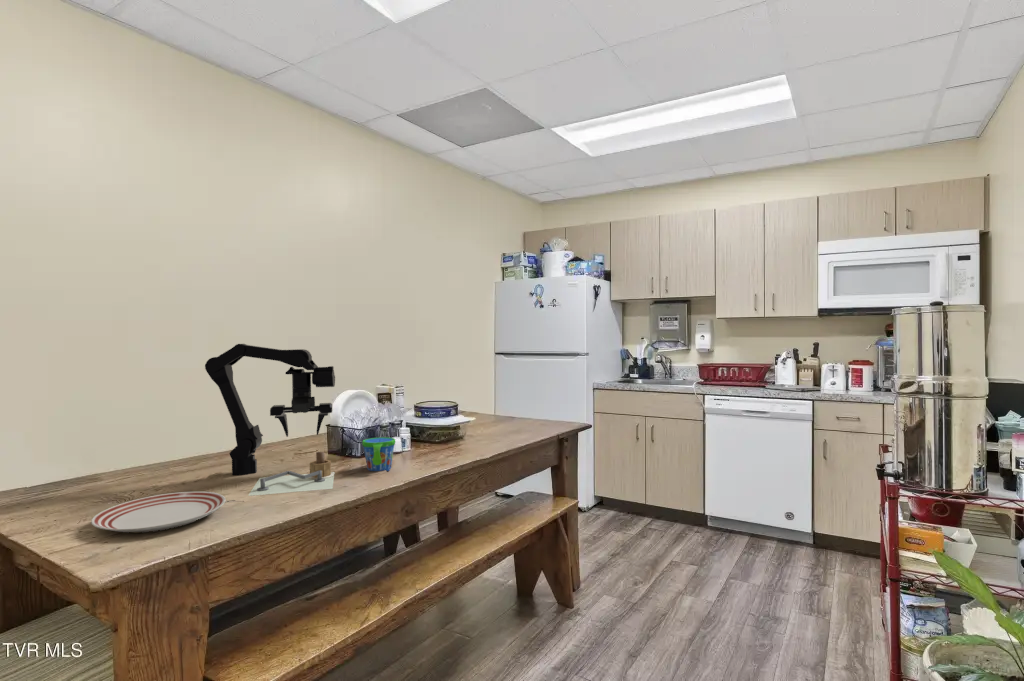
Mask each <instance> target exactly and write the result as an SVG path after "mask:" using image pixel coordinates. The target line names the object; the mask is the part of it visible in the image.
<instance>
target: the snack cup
mask: <svg viewBox="0 0 1024 681" xmlns="http://www.w3.org/2000/svg"><path fill="white" fill-rule="evenodd" d="M361 442H362V444H361V445H362V447H363V449H364V450H363V451H364V457H365V462H366V468H367V470H368V471H369V472H382V471H386V472H388V471H390V470H391V468H392V465H393V457H394V451H395V450H394V448H395V445H396V439H395V438H394V437H387V436H386V437H384V436H383V437H382V436H381V437H371V438H370V437H369V438H366V439H363V440H362V441H361Z"/></svg>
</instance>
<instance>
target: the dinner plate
mask: <svg viewBox="0 0 1024 681" xmlns="http://www.w3.org/2000/svg"><path fill="white" fill-rule="evenodd" d="M225 503H226V497H225V496H224V495H223V494H221V493H218V492H213V491H211V492H210V491H182V492H181V491H180V492H170V493H162V494H155V495H151V496H146V497H141V498H135V499H133V500H130V501H126V502H125V501H124V502H122V503H120V504H119V503H118V504H117V505H114V506H110V507H109V508H107V509H106V508H105V509H104V510H102V511H100V512H99V513H97V514H96V515H94V516H93V517H92V518H91V521H90V524H91V525H92V527H95V528H96V529H101V530H104V531H105V530H106V531H111V532H112V531H113V532H120V533H129V532H142V533H150V532H149V531H153V532H159V531H158V530H160V531H166V530H170V529H169V528H171V529H175V528H179V527H183V526H186V525H189V524H191V523H194V522H197V521H199V520H201V519H202V518H205V517H206V516H209V515H211V514H212V513H215V512H216V511H218V510H219V509H220V508H221V507H222V506H223V505H225ZM198 519H199V520H198ZM196 520H197V521H196ZM182 525H183V526H182ZM178 526H179V527H178ZM174 527H175V528H174ZM165 529H166V530H165Z"/></svg>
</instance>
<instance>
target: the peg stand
mask: <svg viewBox="0 0 1024 681" xmlns="http://www.w3.org/2000/svg"><path fill="white" fill-rule="evenodd" d="M315 454H316V455H315V458H316V460H315V461H316V464H323V463H325V460H326V459H325V451H317V452H316V453H315ZM332 472H333V471H331V475H330V476H326V477H322V478H324V479H326V478H330V477H333V476H334V477H335V473H332ZM308 479H314V480H315V479H318V478H314V477H309V478H308Z"/></svg>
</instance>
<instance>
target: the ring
mask: <svg viewBox="0 0 1024 681" xmlns="http://www.w3.org/2000/svg"><path fill="white" fill-rule="evenodd" d="M319 470H321V471H322V477H326V476H330V475H331V472H332V460H329V459H325V463H323V464H316V460H313V461H310V462H309V474H310V473H313V472H316V471H319ZM312 477H314V478H317V475H315V476H312Z"/></svg>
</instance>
